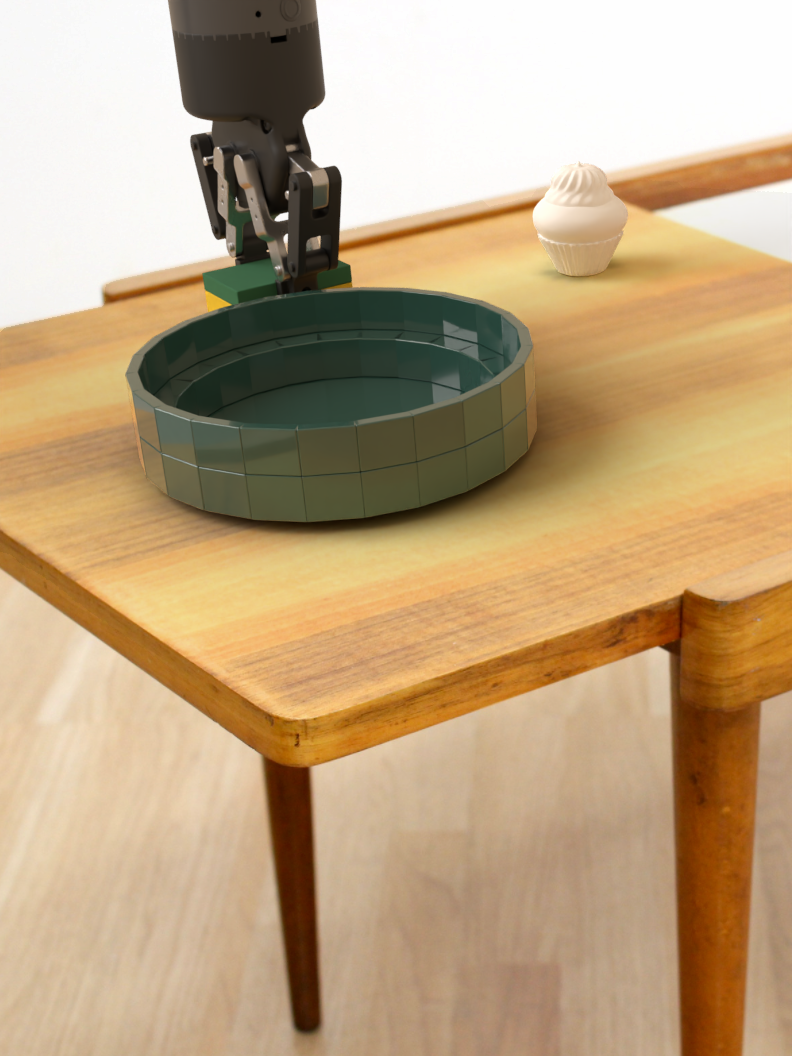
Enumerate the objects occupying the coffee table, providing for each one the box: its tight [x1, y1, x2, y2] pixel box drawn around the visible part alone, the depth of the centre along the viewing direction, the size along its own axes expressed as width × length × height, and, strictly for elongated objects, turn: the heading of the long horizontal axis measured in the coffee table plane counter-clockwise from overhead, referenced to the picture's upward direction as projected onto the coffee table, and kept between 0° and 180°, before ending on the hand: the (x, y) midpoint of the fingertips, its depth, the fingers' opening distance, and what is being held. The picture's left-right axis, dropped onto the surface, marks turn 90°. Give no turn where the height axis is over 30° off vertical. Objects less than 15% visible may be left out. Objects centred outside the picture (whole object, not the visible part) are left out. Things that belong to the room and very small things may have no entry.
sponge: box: [202, 258, 353, 313], centre depth 87 cm, size 7×4×4 cm, turn 125°
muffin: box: [532, 160, 629, 277], centre depth 99 cm, size 6×6×7 cm
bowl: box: [125, 286, 538, 523], centre depth 75 cm, size 19×19×5 cm
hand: (282, 328), depth 88 cm, fingers closed on sponge, 4 cm apart
